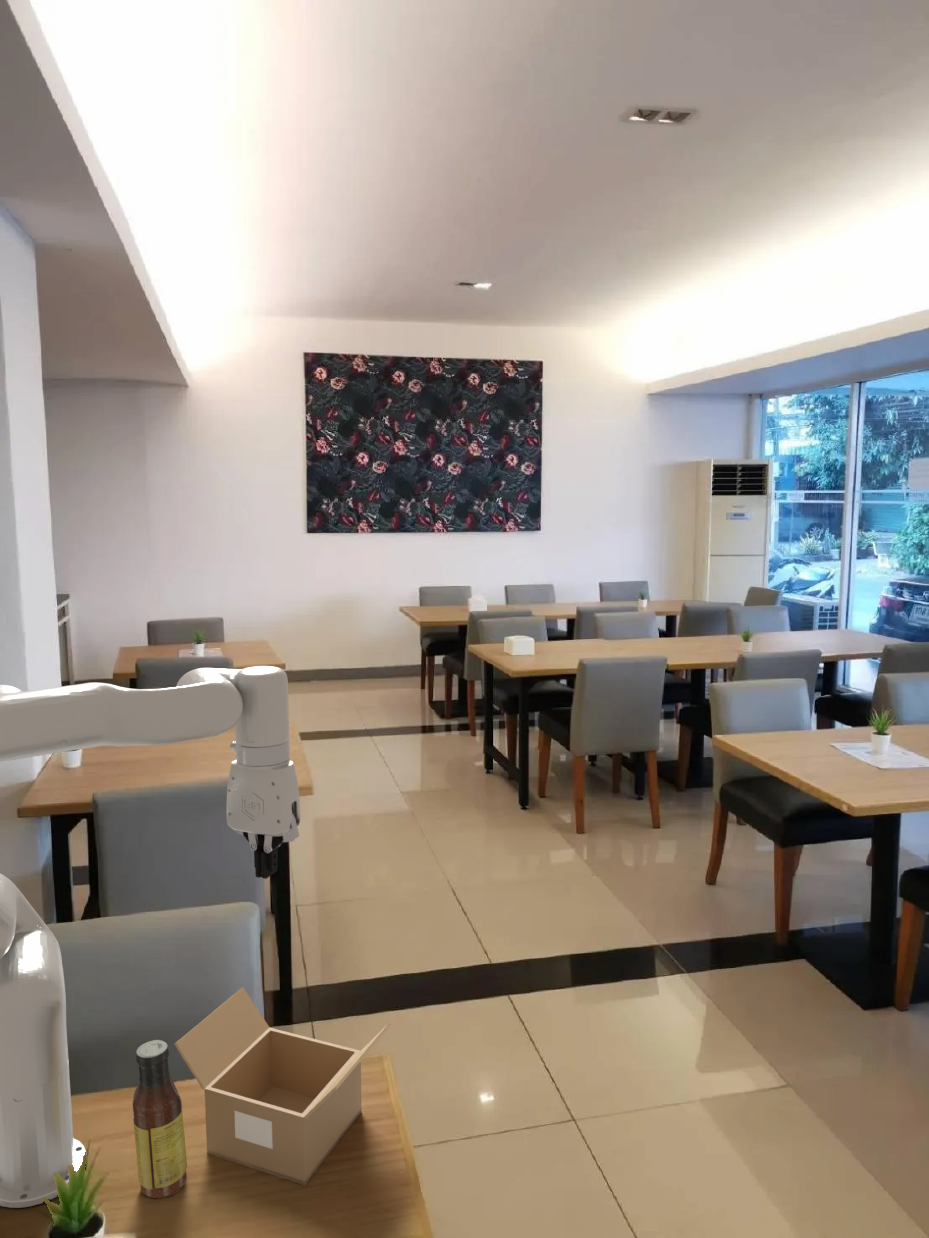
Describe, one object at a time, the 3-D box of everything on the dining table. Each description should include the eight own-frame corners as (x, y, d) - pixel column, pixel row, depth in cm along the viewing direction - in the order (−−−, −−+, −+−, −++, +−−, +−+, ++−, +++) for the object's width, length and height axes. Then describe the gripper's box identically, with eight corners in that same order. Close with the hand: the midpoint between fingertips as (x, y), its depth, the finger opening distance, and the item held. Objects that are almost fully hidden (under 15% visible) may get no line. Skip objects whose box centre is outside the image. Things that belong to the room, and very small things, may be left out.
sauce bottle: (194, 1168, 128) (189, 1035, 125) (176, 1203, 121) (170, 1063, 119) (149, 1165, 128) (142, 1032, 126) (128, 1199, 122) (121, 1060, 119)
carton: (206, 1154, 130) (204, 1088, 129) (271, 1086, 145) (269, 1027, 144) (304, 1185, 125) (303, 1117, 123) (361, 1112, 139) (360, 1050, 138)
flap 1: (204, 1088, 129) (202, 1089, 129) (269, 1027, 144) (267, 1028, 144) (175, 1042, 130) (174, 1044, 130) (243, 986, 145) (241, 987, 145)
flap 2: (360, 1050, 138) (362, 1052, 138) (303, 1117, 123) (305, 1119, 123) (389, 1022, 135) (391, 1024, 135) (334, 1087, 121) (336, 1089, 121)
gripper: (203, 754, 132) (208, 876, 135) (293, 765, 127) (296, 893, 129) (235, 741, 139) (238, 857, 142) (321, 751, 134) (324, 872, 136)
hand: (266, 874), depth 135 cm, fingers closed
